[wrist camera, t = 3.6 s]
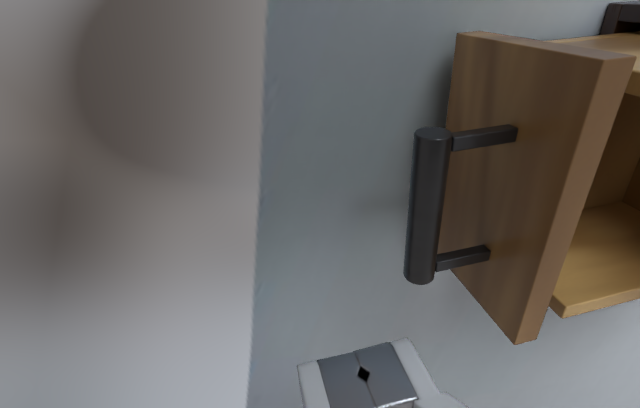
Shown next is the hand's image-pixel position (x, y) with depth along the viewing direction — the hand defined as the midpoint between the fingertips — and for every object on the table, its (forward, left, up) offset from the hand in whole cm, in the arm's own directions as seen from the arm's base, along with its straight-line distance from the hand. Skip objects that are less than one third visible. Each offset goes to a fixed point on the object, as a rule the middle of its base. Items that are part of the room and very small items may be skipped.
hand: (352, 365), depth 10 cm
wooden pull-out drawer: (+13, 0, -11) cm, 17 cm away
